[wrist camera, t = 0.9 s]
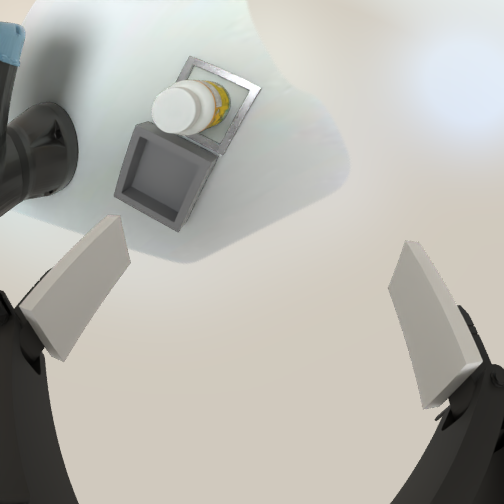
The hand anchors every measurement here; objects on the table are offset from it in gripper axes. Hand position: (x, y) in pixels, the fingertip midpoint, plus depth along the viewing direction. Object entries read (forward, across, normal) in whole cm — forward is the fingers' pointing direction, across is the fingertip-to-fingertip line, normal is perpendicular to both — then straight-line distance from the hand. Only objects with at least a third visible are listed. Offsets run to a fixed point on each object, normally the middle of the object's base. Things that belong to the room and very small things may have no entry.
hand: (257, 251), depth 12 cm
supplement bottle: (+21, -8, +5) cm, 23 cm away
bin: (+21, -13, -3) cm, 25 cm away
